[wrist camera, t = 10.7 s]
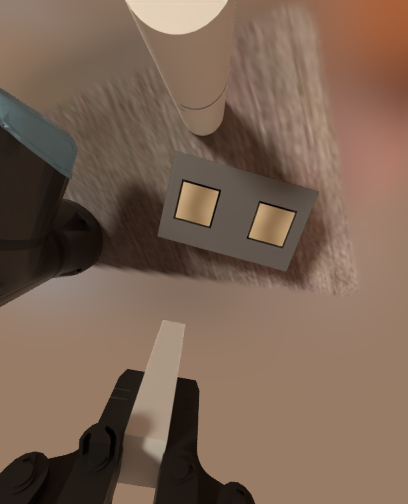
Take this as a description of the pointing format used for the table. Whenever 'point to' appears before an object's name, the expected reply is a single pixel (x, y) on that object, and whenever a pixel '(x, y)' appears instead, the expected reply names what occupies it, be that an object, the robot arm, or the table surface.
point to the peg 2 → (270, 224)
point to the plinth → (234, 211)
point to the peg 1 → (196, 203)
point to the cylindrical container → (190, 54)
